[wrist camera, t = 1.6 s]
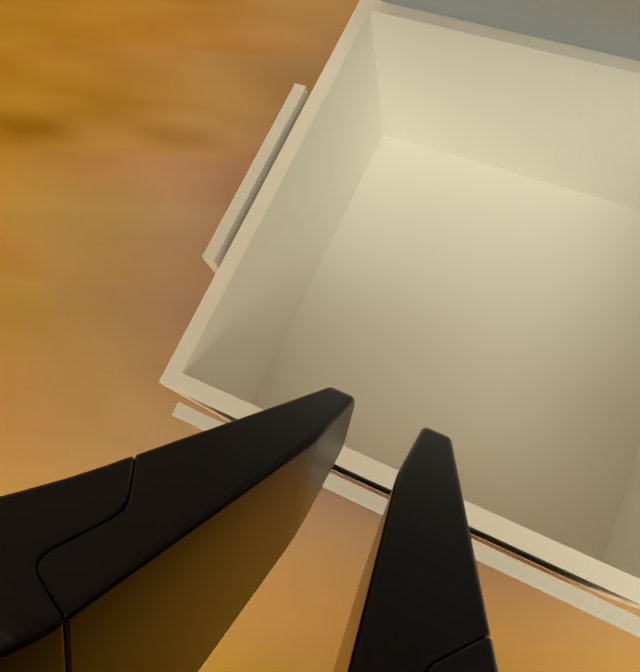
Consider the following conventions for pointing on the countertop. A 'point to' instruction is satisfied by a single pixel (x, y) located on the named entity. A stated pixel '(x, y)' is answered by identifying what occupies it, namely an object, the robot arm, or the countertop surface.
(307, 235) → the carton
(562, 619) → the countertop surface
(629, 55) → the far flap
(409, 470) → the robot arm
